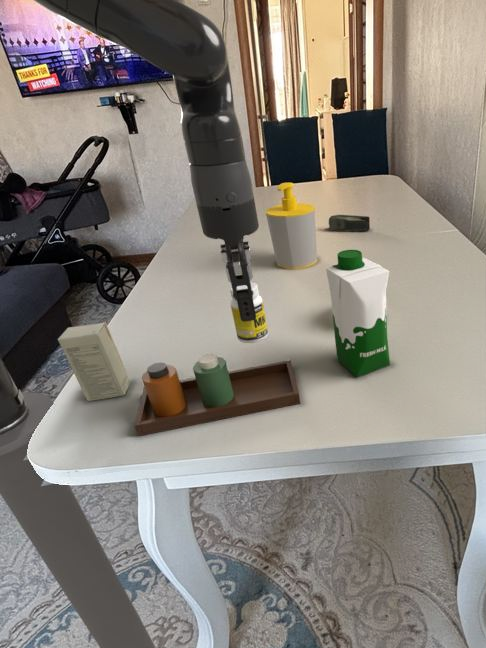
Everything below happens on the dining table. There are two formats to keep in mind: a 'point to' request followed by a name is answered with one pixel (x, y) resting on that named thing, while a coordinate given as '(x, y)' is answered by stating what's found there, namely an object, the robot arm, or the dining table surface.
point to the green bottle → (213, 380)
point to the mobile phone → (349, 223)
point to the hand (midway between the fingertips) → (247, 311)
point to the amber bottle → (164, 389)
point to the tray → (249, 397)
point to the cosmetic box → (95, 361)
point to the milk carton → (359, 312)
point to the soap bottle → (292, 231)
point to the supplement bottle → (254, 328)
